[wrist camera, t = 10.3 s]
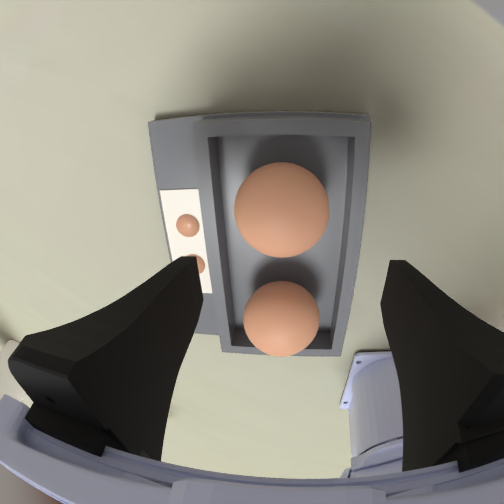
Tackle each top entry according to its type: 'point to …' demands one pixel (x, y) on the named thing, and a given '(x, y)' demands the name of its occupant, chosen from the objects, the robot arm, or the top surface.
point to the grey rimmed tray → (223, 220)
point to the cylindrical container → (9, 374)
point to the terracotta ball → (281, 209)
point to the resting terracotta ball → (281, 318)
